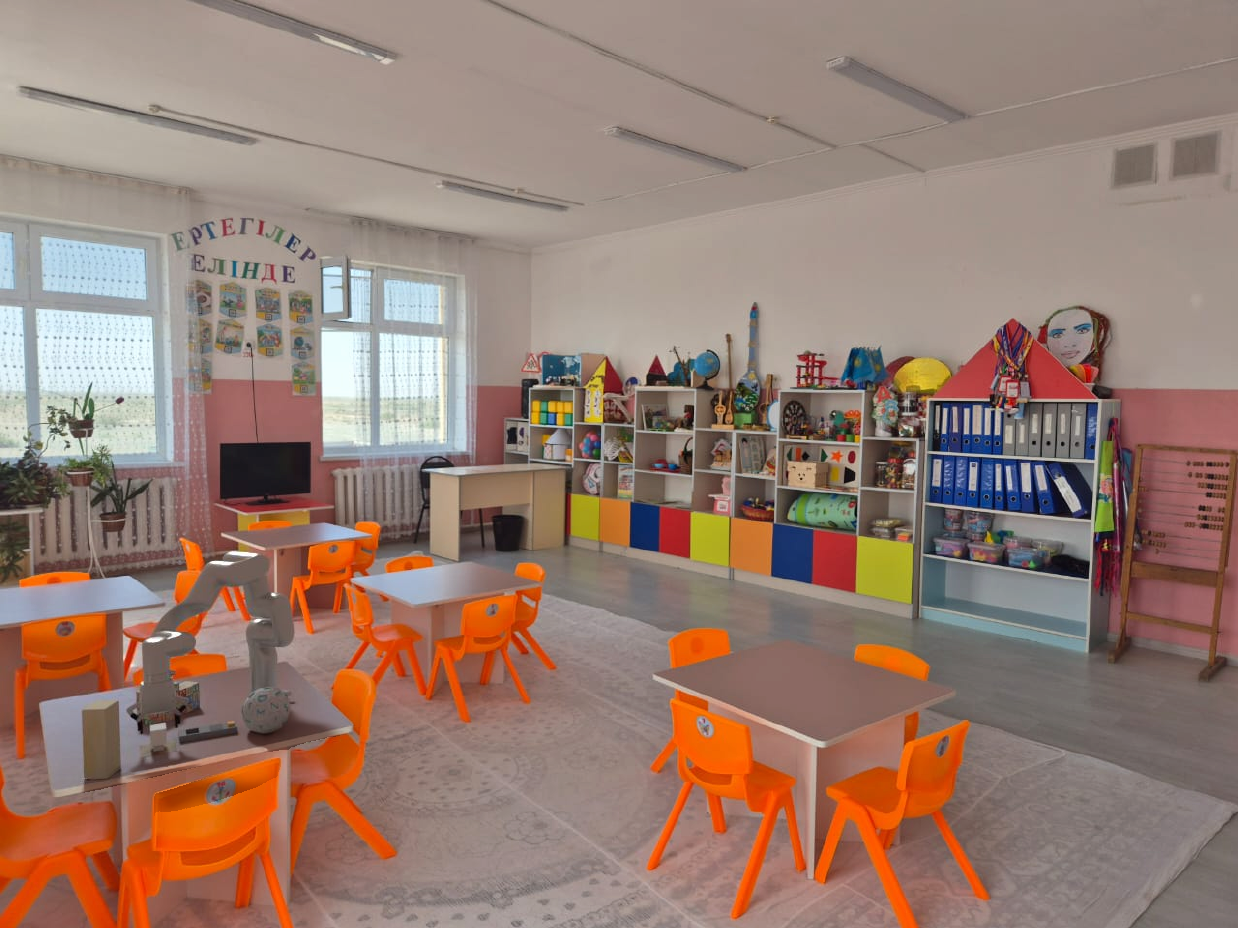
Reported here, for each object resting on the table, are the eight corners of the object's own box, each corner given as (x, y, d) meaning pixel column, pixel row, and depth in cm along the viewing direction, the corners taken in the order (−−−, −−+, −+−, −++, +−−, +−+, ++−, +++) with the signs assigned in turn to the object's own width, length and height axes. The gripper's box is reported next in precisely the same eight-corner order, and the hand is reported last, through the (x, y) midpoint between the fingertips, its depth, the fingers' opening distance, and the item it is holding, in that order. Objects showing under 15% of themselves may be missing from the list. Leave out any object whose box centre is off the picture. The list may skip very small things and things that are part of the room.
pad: (175, 742, 268) (175, 739, 268) (176, 754, 260) (176, 750, 260) (139, 748, 263) (139, 745, 263) (140, 760, 255) (140, 757, 255)
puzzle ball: (292, 735, 275) (291, 692, 274) (242, 743, 269) (242, 698, 268) (288, 720, 289) (288, 678, 288) (241, 727, 282) (240, 684, 281)
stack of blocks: (186, 705, 302) (186, 672, 302) (200, 707, 301) (199, 674, 300) (136, 726, 282) (135, 691, 281) (151, 728, 280) (150, 693, 279)
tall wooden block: (95, 768, 249) (93, 700, 248) (121, 767, 250) (119, 699, 248) (81, 780, 241) (78, 709, 240) (107, 779, 242) (105, 709, 240)
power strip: (235, 729, 280) (234, 718, 280) (237, 735, 275) (236, 724, 275) (178, 739, 271) (178, 727, 271) (179, 745, 266) (179, 734, 266)
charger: (166, 743, 265) (165, 722, 265) (166, 750, 260) (166, 728, 260) (150, 746, 263) (149, 725, 262) (150, 752, 258) (150, 731, 257)
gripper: (187, 668, 268) (189, 720, 269) (125, 677, 259) (127, 730, 260) (188, 675, 261) (190, 728, 263) (125, 685, 252) (127, 739, 254)
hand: (159, 729), depth 262 cm, fingers open, 9 cm apart
